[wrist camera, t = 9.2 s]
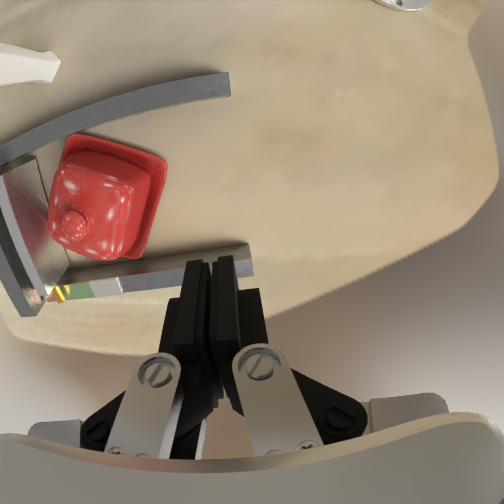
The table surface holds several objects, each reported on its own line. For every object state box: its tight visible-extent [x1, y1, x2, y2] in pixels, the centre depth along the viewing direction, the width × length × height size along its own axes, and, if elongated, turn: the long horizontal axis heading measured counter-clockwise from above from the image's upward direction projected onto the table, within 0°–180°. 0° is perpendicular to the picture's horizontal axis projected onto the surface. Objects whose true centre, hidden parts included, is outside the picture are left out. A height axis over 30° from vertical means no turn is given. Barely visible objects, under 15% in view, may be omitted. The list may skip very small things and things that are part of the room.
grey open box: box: [0, 72, 254, 317], centre depth 23 cm, size 19×28×6 cm, turn 96°
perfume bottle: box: [0, 43, 61, 86], centre depth 11 cm, size 5×4×15 cm
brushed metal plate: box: [0, 159, 70, 303], centre depth 23 cm, size 16×2×6 cm, turn 6°
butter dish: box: [48, 133, 167, 261], centre depth 22 cm, size 12×12×8 cm
